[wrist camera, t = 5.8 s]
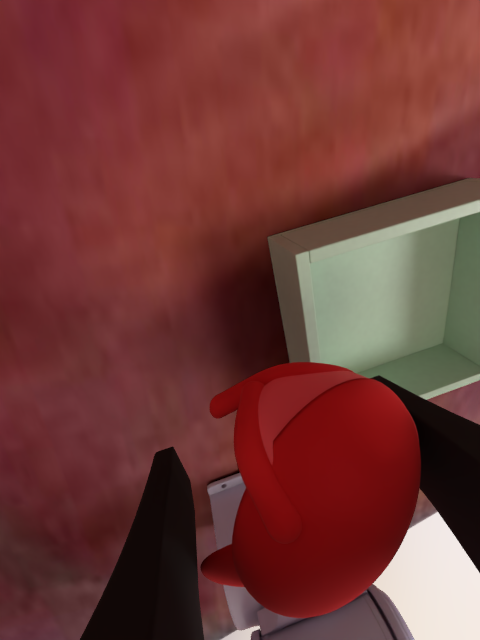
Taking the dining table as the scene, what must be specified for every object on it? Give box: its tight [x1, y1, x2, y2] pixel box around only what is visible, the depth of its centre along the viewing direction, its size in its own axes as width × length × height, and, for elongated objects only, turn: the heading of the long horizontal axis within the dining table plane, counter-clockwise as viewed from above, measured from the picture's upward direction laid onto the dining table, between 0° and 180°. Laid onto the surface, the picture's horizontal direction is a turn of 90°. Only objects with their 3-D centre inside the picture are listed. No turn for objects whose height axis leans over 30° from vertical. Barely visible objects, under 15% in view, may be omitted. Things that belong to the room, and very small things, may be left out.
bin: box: [267, 178, 480, 400], centre depth 20 cm, size 14×13×4 cm
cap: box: [201, 362, 421, 618], centre depth 10 cm, size 8×6×6 cm
